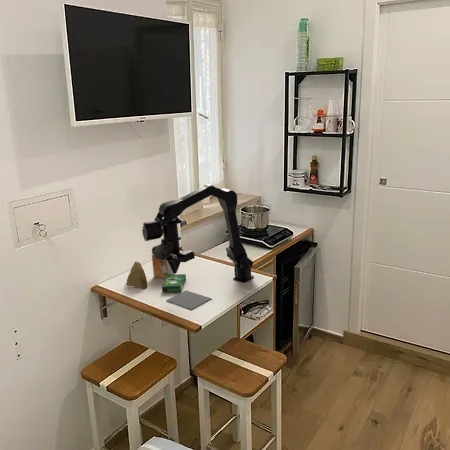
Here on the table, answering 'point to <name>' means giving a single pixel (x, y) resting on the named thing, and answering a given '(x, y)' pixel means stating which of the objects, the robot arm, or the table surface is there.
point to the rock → (137, 277)
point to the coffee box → (174, 283)
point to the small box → (161, 268)
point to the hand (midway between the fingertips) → (175, 273)
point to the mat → (188, 300)
